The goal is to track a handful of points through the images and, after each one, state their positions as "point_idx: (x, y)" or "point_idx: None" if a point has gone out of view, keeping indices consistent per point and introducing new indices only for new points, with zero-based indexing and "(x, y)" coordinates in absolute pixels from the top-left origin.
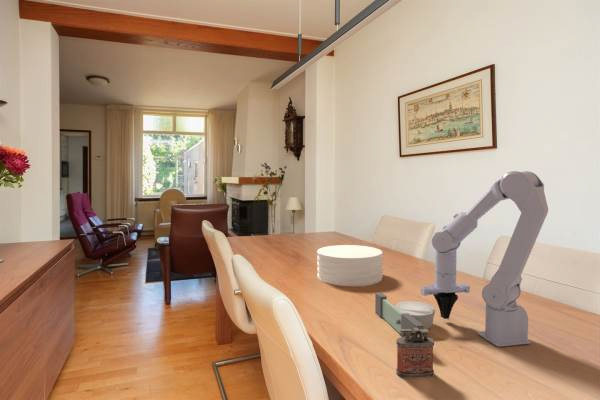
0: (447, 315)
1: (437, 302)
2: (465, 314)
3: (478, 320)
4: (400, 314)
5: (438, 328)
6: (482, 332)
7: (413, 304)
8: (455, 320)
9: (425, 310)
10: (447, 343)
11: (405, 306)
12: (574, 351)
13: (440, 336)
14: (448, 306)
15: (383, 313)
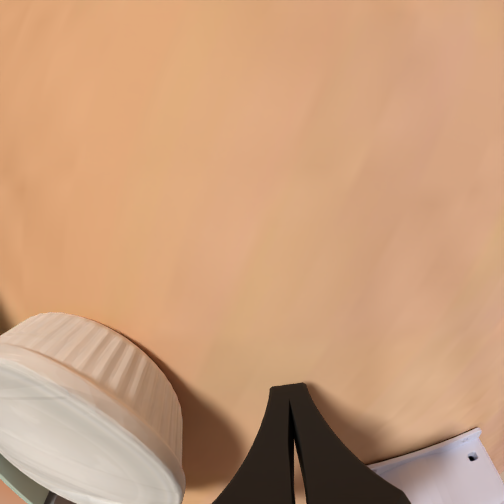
0: (293, 439)
1: (242, 469)
2: (487, 256)
3: (482, 342)
4: (20, 496)
5: (211, 433)
6: (377, 471)
7: (39, 427)
8: (371, 352)
9: (119, 499)
10: (203, 499)
11: (6, 429)
12: None
13: (194, 475)
14: (305, 493)
15: None
